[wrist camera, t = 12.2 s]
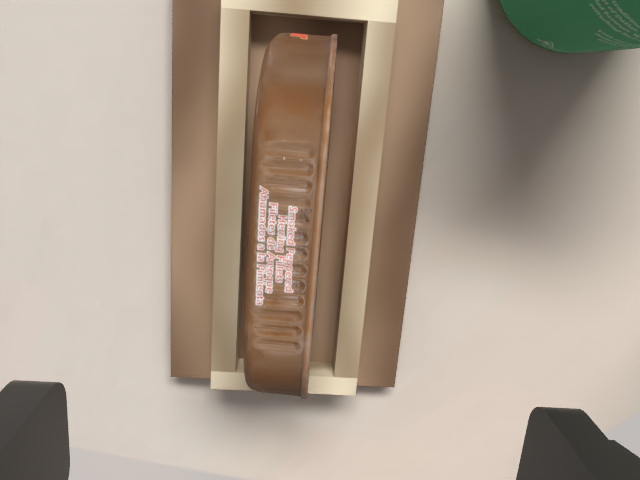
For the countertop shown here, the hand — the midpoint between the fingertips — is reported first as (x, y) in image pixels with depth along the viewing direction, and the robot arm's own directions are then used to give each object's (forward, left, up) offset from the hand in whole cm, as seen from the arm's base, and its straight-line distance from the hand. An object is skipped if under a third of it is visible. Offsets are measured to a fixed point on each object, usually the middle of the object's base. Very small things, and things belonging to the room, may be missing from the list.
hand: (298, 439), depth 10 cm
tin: (0, 0, -19) cm, 19 cm away
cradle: (0, 0, -20) cm, 20 cm away
